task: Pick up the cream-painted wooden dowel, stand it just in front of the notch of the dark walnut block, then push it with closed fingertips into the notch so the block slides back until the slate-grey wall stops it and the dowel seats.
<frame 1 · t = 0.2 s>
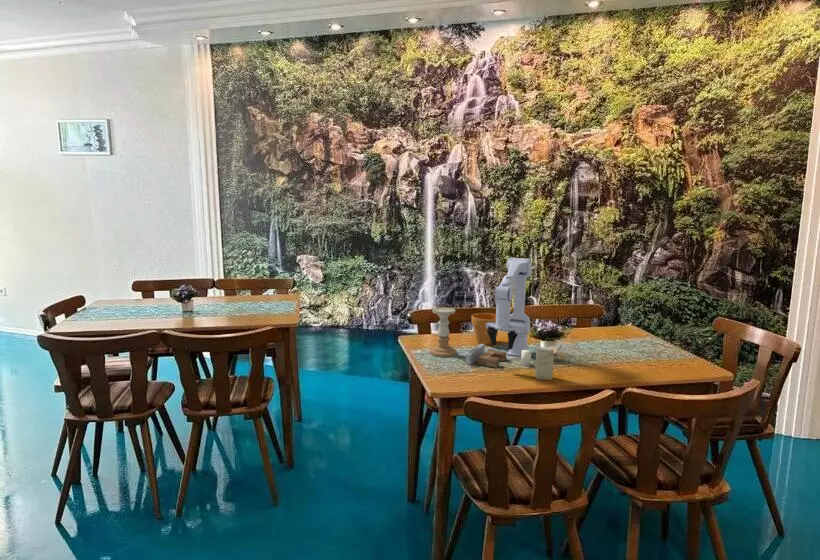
hand: (502, 347, 243), 10 cm above the table, fingers open, 7 cm apart
candle holder: (443, 353, 268), on the table
block: (492, 358, 256), point 2 cm above the table, slide at 0.0 cm
skincare box: (543, 378, 236), on the table
wall: (475, 359, 260), on the table
flower pot: (485, 342, 286), on the table
dowel: (525, 364, 252), on the table
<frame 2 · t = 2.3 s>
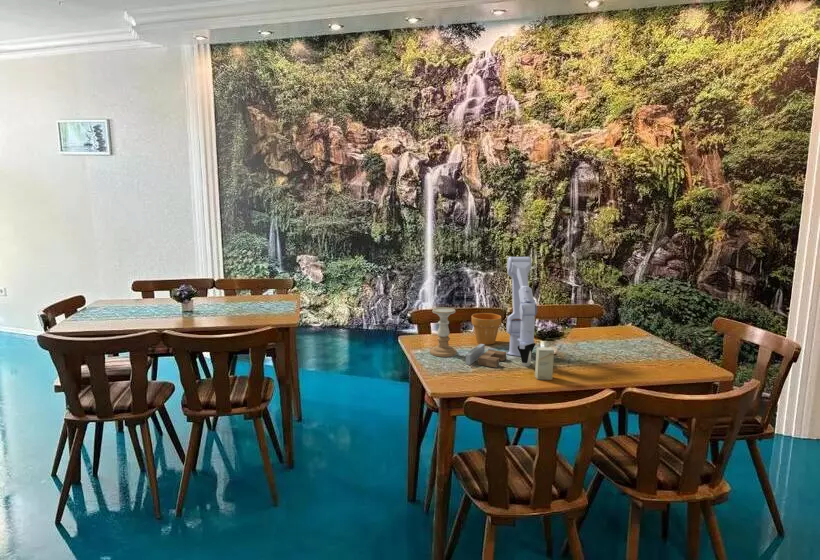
hand: (526, 361, 252), 2 cm above the table, fingers closed on dowel, 4 cm apart
dowel: (525, 364, 252), on the table, touching gripper
everything else where it was.
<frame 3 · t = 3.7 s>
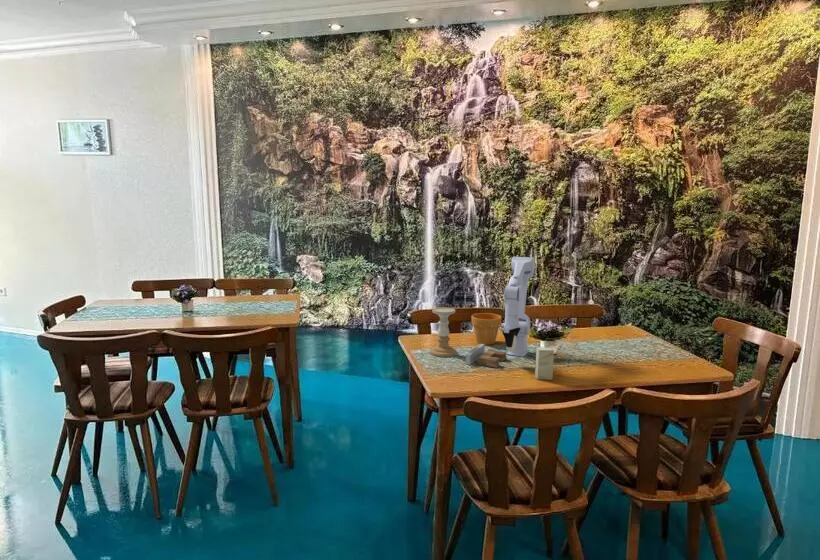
hand: (510, 345, 251), 8 cm above the table, fingers closed on dowel, 4 cm apart
dowel: (511, 349, 251), point 7 cm above the table, touching gripper
everything else where it was.
when the fingers open (2 cm above the table, at t = 5.1 s): dowel stays where it is, on the table.
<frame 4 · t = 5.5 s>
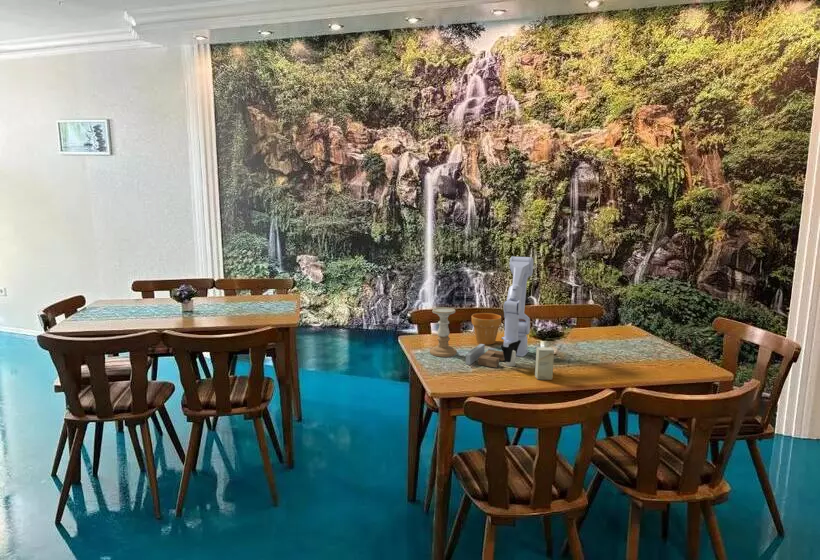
hand: (510, 359, 252), 2 cm above the table, fingers open, 7 cm apart
dowel: (510, 364, 252), on the table
everything else where it was.
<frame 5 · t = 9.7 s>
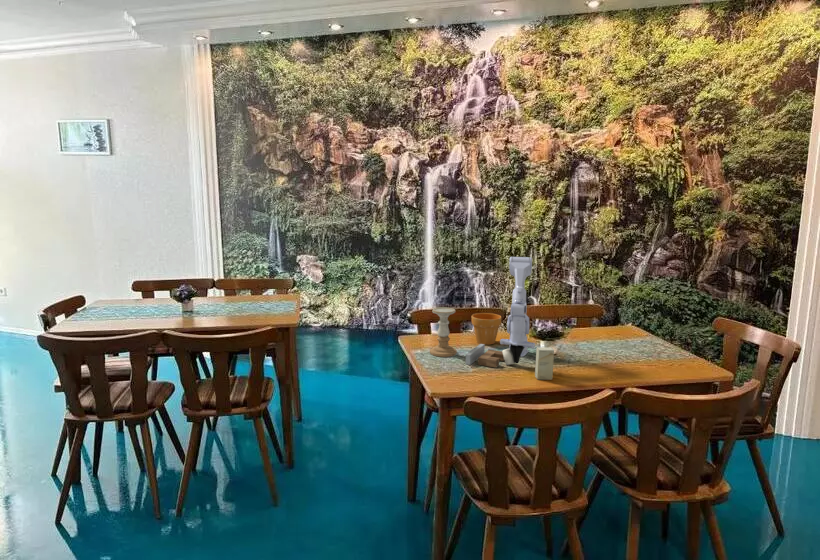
hand: (516, 362, 251), 1 cm above the table, fingers closed
dowel: (510, 363, 252), point 1 cm above the table, tilted 18°
everything else where it was.
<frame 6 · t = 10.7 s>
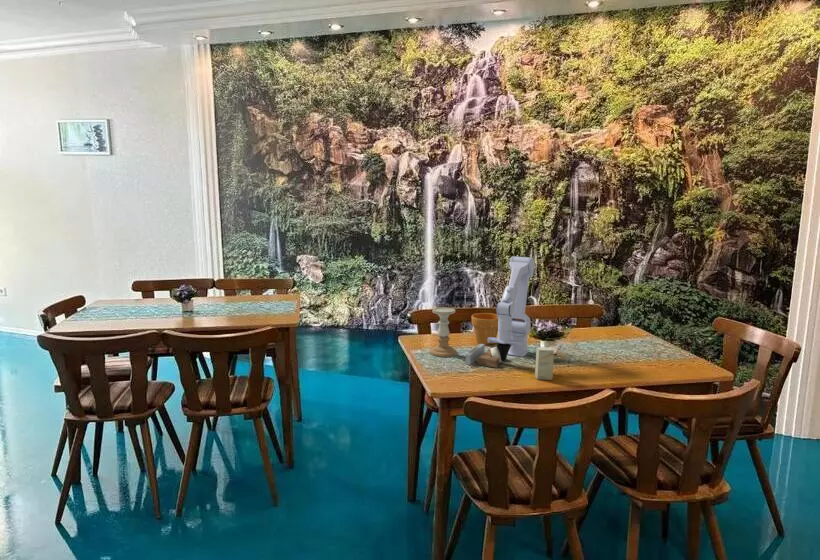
hand: (503, 360, 253), 1 cm above the table, fingers closed
dowel: (498, 361, 255), point 1 cm above the table, tilted 16°, touching gripper
everything else where it was.
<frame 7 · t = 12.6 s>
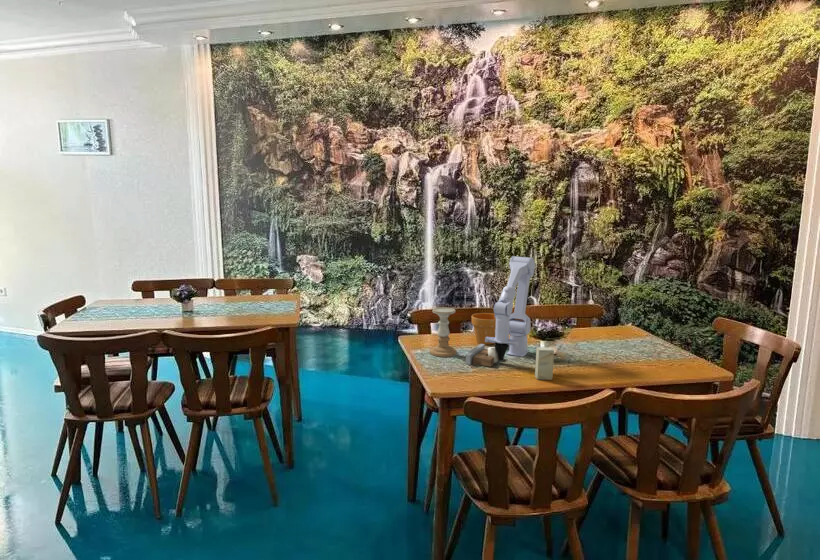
hand: (501, 360, 254), 1 cm above the table, fingers closed
block: (487, 357, 257), point 2 cm above the table, slide at 2.3 cm
dowel: (493, 361, 256), on the table, touching gripper
everything else where it was.
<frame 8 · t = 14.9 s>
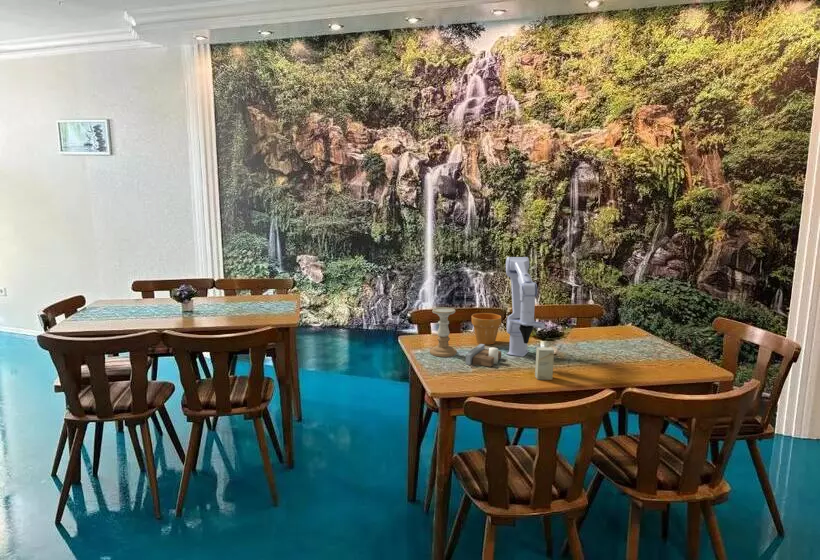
hand: (526, 342, 250), 10 cm above the table, fingers closed
dowel: (493, 362, 256), on the table
everything else where it was.
at the end: dowel 0.6 cm from the target spot on the block, point 0.0 cm above the block's base; block slide at 2.3 cm; dowel tilted 0° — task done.
